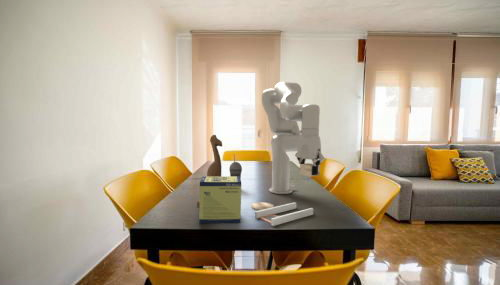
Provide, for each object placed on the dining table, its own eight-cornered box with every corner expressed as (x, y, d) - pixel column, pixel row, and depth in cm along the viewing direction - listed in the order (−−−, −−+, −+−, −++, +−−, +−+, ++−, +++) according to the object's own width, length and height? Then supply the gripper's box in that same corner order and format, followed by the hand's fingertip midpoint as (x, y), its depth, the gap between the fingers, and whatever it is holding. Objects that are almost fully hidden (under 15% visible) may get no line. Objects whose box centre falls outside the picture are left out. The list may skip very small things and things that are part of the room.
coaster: (264, 202, 122) (264, 201, 121) (278, 207, 114) (278, 206, 113) (246, 206, 116) (246, 204, 116) (260, 212, 108) (261, 210, 108)
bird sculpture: (221, 209, 111) (224, 135, 109) (196, 206, 113) (198, 134, 112) (229, 202, 122) (231, 135, 120) (205, 200, 124) (208, 133, 123)
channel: (294, 207, 114) (294, 202, 114) (313, 214, 106) (313, 208, 106) (255, 217, 101) (255, 211, 101) (272, 226, 93) (273, 219, 92)
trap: (272, 214, 105) (272, 213, 105) (286, 220, 99) (286, 219, 98) (259, 218, 100) (259, 217, 100) (272, 224, 94) (272, 223, 94)
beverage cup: (237, 191, 142) (237, 155, 140) (226, 189, 145) (226, 154, 144) (244, 188, 148) (244, 154, 146) (233, 187, 152) (234, 153, 150)
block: (308, 172, 119) (309, 163, 119) (319, 175, 114) (319, 164, 114) (300, 174, 115) (300, 164, 115) (310, 176, 110) (311, 166, 110)
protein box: (241, 223, 95) (241, 181, 94) (198, 223, 94) (198, 181, 93) (239, 213, 106) (240, 176, 105) (201, 214, 104) (201, 176, 103)
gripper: (289, 132, 117) (288, 171, 119) (321, 133, 104) (319, 178, 105) (300, 132, 122) (299, 170, 123) (332, 133, 109) (330, 175, 110)
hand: (308, 173), depth 114 cm, fingers closed on block, 6 cm apart
